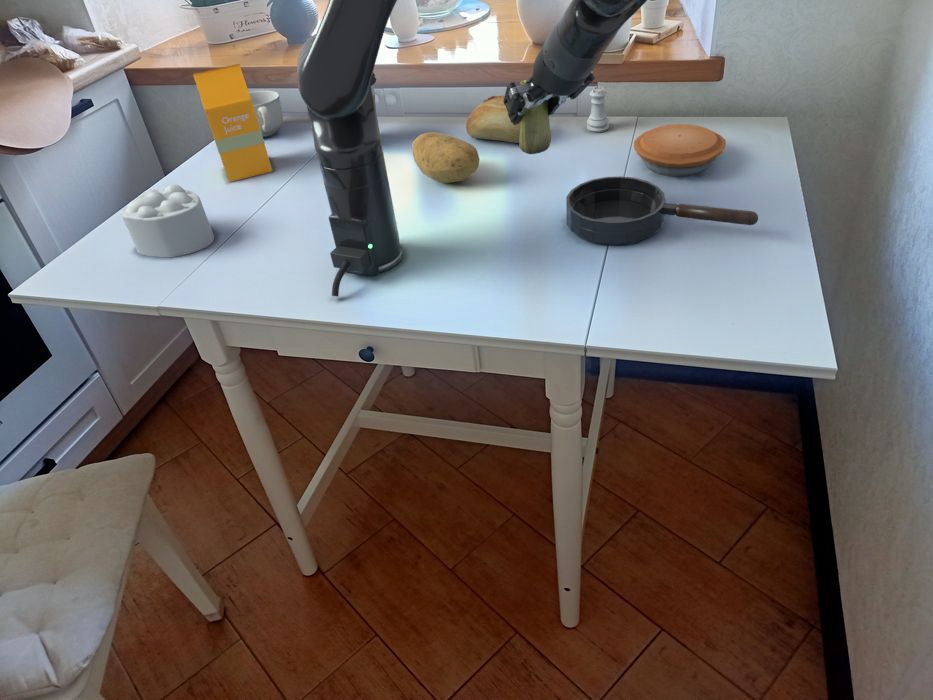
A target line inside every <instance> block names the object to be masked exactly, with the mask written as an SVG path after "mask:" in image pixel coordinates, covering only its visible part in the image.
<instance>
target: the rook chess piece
mask: <svg viewBox="0 0 933 700" xmlns="http://www.w3.org/2000/svg"><path fill="white" fill-rule="evenodd" d="M597 87H598V88H597ZM607 94H608V92H607V91H606V88H605V86H601V85H598V86H593V87H592V88H591V91H590V92H589V96H590V97H591V100H590V103H591V107H590V108H591V109H590V114H589V116H588V118H587V120H586V124H587V125H586V129H587V130H588V131H589V132H591V133H598V134H599V133H603V132H606V131H607V130H608V129H609V128H610V125H609V122H610V120H609V118H608V115H607V114H606V108H605V103H606V99H605V97H606V95H607Z"/></svg>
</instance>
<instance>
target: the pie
mask: <svg viewBox="0 0 933 700" xmlns="http://www.w3.org/2000/svg"><path fill="white" fill-rule="evenodd" d="M726 144H727V143H726V138H725V137H723V136H722V135H720V134H719V133H717V132H715V131H713V130H711V129H709V128H707V127H704V126H700V125H696V124H689V123H674V124H665V125H661V126H657V127H653V128H651V129H650V130H647V131H645V132H643V133H641V134H640V135H638V136H637V137H636V138H635V139H634V141H633V149H634V150H635V152H636V154H637V155H638V156H639V157H640V159H641V160H642V162H643V164H644V165H645V167H646V168H647V169H648V170H650V171H651V172H653V173H656V174H659V175H662V176H667V177H688V176H693V175H697V174H700V173H702V172H705V170H707V169H708V168H709V167H710V166H711V165H712V164H713V162H715V160H716V159H717V158H718V157H719V156H720V155H721V154H722V153H723V152H724V150H725V148H726Z"/></svg>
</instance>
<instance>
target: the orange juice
mask: <svg viewBox="0 0 933 700" xmlns="http://www.w3.org/2000/svg"><path fill="white" fill-rule="evenodd" d="M192 75H193V79H194V82H195V85H196V87H197V91H198V94H199V96H200V97H199V98H200V100H201V104H202V106H203V110H204V112H205V116H206V118H207V121H208V125H209V126H208V127H209V128H210V130H211V133H212V137H213V139H214V142H215V146H216V149H217V152H218V154H219V156H220V160H221V163H222V165H223V168H224V169H223V170H224V172H225V175H226V177H227V180H228V183H233V182H237V181H240V180H244V179H249V178H253V177H256V176H260V175H263V174H267V173H271V172H273V167H272V164H271V161H270V157H269V154H268V150H267V147H266V145H265V140H264V137H263V136H262V133H261V130H260V127H259V124H258V120H257V117H256V113H255V110H254V107H253V103H252V100H251V98H250V94H249V92H250V91H249V88H248V85H247V83H246V80H245V77H244V74H243V71H242V67H241V64H240V63H237V64H232V65H228V66H223V67H219V68H214V69H210V70H205V71H200V72H196V73H192Z"/></svg>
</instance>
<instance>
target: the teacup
mask: <svg viewBox="0 0 933 700" xmlns="http://www.w3.org/2000/svg"><path fill="white" fill-rule="evenodd" d="M249 94H250V98H251V100H252V103H253V107H254V110H255V113H256V117H257V120H258V124H259V127H260V130H261V133H262V136H263V138H264V137H269V136H272V135H274V134H276V133H277V132H278V131H279V129H280V128H281V126H282V125H283V122H284V116H283V109H282V103H281V100H280V99H281V98H280V94H279V92H277V91H274V90H264V89H263V90H252V91H249Z"/></svg>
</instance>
